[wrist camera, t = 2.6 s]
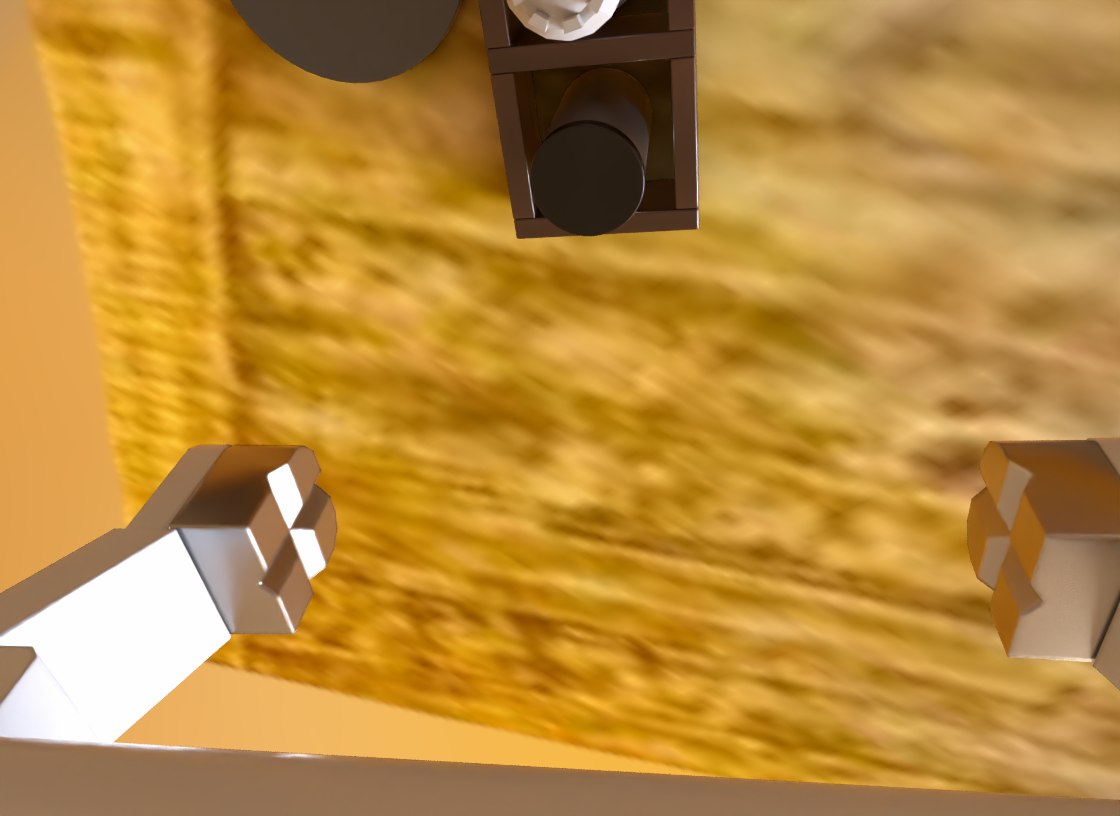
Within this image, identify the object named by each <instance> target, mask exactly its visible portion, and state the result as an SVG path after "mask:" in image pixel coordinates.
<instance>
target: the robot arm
mask: <svg viewBox="0 0 1120 816" xmlns="http://www.w3.org/2000/svg"><path fill="white" fill-rule="evenodd" d="M979 470H980V473H981V475H982V477H983V480H984V482H985V484H986V487H985V488H984V489H983V490H982V491H980V492H979V493H978V494H977V495H976V496H974V497H973V498H972V499H971V504H970V509H969V514H968V519H967V544H968V549H969V554H970V559H971V563H972V565H973V568H974V571H975V574H976V577H977V579H979V580H980V581H981V582H983V583H984V584H985V585H987V586H988V587H989V588H991V589H992V590H993V591H994V592H993V596H992V600H991V603H990V607H989V611H990V613H991V616H992V618H993V621H994V623H995V626H996V628H997V631H998V633H999V636H1000V639H1001V641H1002V644H1003V646H1004V649H1005V651H1006V654H1007V656H1008V657H1013V658H1031V659H1049V660H1066V661H1084V662H1094V663H1093V666H1094V667H1095V668H1096V669H1097V670H1098V671H1099V672H1100V673H1101V674H1103V675H1104V676H1105V677H1106V678H1107V679H1108V680H1109V681H1110V682H1111V683H1112V684H1114V685H1115V686H1116V687H1117V688H1118V689H1119V690H1120V438H1088V439H1087V440H1039V441H990V442H989V443H988V445H987V447H986V448H985V450H984V452H983V455H982V459H981V463H980V467H979ZM320 472H321V469H320V466H319V464H318V461H317V459H316V456H315V454H314V451H313V450H311V449H309V448H308V447H306V446H302V445H239V444H235V445H198V446H195V447H192V448H190V449H188V450H187V452H186V453H185V454H184V455H183V457H182V458H181V459H180V461H179V462H178V463H177V464H176V466H175V467H174V468H173V469H172V471H171V472H170V473H169V474H168V476H167V477H166V478H165V480H164V481H163V482H162V483H161V485H160V486H159V487H158V488H157V490H156V491H155V492H154V493H153V495H152V496H151V497H150V498H149V500H148V501H147V502H146V504H145V505H144V506H143V507H142V509H141V510H140V511H139V512H138V514H137V515H136V516H135V517H134V519H133V520H132V521H131V522H130V524H129V525H128V526H127V528H126V529H113V530H111V531H109V532H108V533H106V534H104V535H102V536H101V537H99V538H97V539H95V540H93V541H92V542H90V543H88V544H86V545H85V546H83V547H81V548H80V549H78V550H76V551H74V552H72V553H71V554H69V555H67V556H65V557H63V558H62V559H60V560H58V561H56V562H55V563H53V564H51V565H49V566H48V567H46V568H44V569H42V570H41V571H39V572H37V573H35V574H34V575H32V576H30V577H28V578H26V579H25V580H23V581H21V582H19V583H18V584H16V585H15V586H12V587H11V588H9V589H7V590H5V591H4V592H2V593H0V816H1120V800H1112V799H1095V798H1078V797H1060V796H1043V795H1025V794H1008V793H990V792H973V791H955V790H937V789H920V788H902V787H884V786H866V785H848V784H831V783H813V782H795V781H777V780H760V779H742V778H724V777H706V776H689V775H671V774H653V773H635V772H619V771H601V770H584V769H583V770H582V769H566V768H549V767H531V766H513V765H496V764H479V763H462V762H444V761H443V762H442V761H427V760H426V761H425V760H408V759H392V758H374V757H356V756H338V755H321V754H303V753H285V752H269V751H268V752H267V751H251V750H231V749H215V748H197V747H181V746H180V747H179V746H163V745H162V746H161V745H145V744H128V743H113V742H114V741H115V740H116V739H117V738H118V737H119V736H120V735H121V734H123V733H124V732H125V731H126V730H127V729H128V728H129V727H131V726H132V725H133V724H134V723H135V722H136V721H137V720H139V719H140V718H141V717H142V716H143V715H144V714H145V713H146V712H148V711H149V710H150V709H151V708H152V707H153V706H154V705H155V704H157V703H158V702H159V701H160V700H161V699H162V698H163V697H165V696H166V695H167V694H168V693H169V692H170V691H171V690H172V689H174V688H175V687H176V686H177V685H178V684H179V683H180V682H181V681H183V680H184V679H185V678H186V677H187V676H188V675H189V674H191V673H192V672H193V671H194V670H195V669H196V668H197V667H198V666H200V665H201V664H202V663H203V662H204V661H205V660H206V659H207V658H209V657H210V656H211V655H212V654H213V653H214V652H215V651H216V650H218V649H219V648H220V647H221V646H222V645H223V644H224V643H226V642H227V641H228V640H229V639H230V638H231V635H230V634H294V633H295V631H296V629H297V627H298V625H299V623H300V621H301V619H302V617H303V615H304V613H305V611H306V608H307V606H308V604H309V602H310V600H311V598H312V596H313V594H314V592H313V590H312V587H311V584H310V582H309V579H311V578H312V577H313V576H315V575H316V574H317V573H319V572H320V571H321V570H323V569H324V568H325V567H327V564H328V562H329V560H330V558H331V555H332V553H333V551H334V547H335V540H336V533H337V522H336V513H335V509H334V506H333V503H332V500H331V497H330V496H329V495H328V494H327V493H326V492H324V491H323V490H322V489H321V488H320V487H318V486H317V485H316V484H315V482H316V480H317V478H318V476H319V474H320Z"/></svg>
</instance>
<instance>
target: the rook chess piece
mask: <svg viewBox="0 0 1120 816" xmlns="http://www.w3.org/2000/svg"><path fill="white" fill-rule="evenodd" d="M625 1H627V0H507V3H508V6H509V8H510V9H511V10H512V11H513V13H514V14H515V15H516V16H517V17H518V19H519V20H520V21H521V22H522V23H523V25H524V26H525V27H526V28H528V29H530V30H532V31H534V32H535V33H537V34H539V35H541V36H543V37H544V38H546V39H554V40H565V41H572V40H575V39H578V38H581V37H584V36H587V35H590V34H593V33H594V32H595V31H596V30H597V29H599V28H600V27H601V26H602V25H603V24H604V23H605V22H606V21H607V20H608V19H609V18H611V17H612V15H613V13H614V11H615V9H616V8H619V7H620V6H621V5H622V4H623V3H624V2H625Z"/></svg>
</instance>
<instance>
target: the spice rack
mask: <svg viewBox="0 0 1120 816" xmlns="http://www.w3.org/2000/svg"><path fill="white" fill-rule="evenodd" d="M478 1H479V7H480V13H481V20H482V26H483V32H484V38H485V44H486V48H487V56H488V62H489V68H490V73H491V82H492V88H493V94H494V101H495V107H496V113H497V119H498V125H499V132H500V138H501V144H502V150H503V157H504V163H505V169H506V175H507V182H508V188H509V194H510V200H511V207H512V213H513V218H514V223H515V230H516V236H517V238H518V239H524V238H543V237H561V236H580V235H575V234H572V233H569V232H566V231H564V230H562V229H560V228H558V227H557V226H555V225H554V224H552V223H551V222H550V221H549V220H548V219H547V218H546V217H545V216H544V215H543V214H542V213H541V211H540V210H539V208H538V207H537V205H536V203H535V201H534V198H533V195H532V192H531V187H530V169H531V164H532V161H533V158H534V156H535V154H536V152H537V150H538V148H539V146H540V145H541V139H540V131H539V124H538V116H537V109H536V101H535V94H534V86H533V78H532V71H536V70H547V69H558V68H569V67H580V66H591V65H602V64H613V63H624V62H636V61H647V60H658V59H669V58H670V77H671V103H672V130H673V156H674V179H670V180H655V181H645V187H644V194H643V197H642V200H641V203H640V205H639V207H638V209H637V210H636V212H635V213H634V215H633V216H632V217H631V218H630V219H629V220H628V221H627V222H626V223H625V224H624V225H622V226H621V227H619V228H618V229H616V230H614V231H612V232H609V233H606V234H617V233H636V232H654V231H673V230H692V229H698V228H699V172H698V122H697V71H696V20H695V0H668V12H662V13H652V14H642V15H632V16H622V17H612V18H609V19H608V20H607V21H606V22H605V23H604V24H603V25H602V26H601V27H600V28H599V29H597V30H596V31H595V32H594V33H593V34H590V35H587V36H584V37H581V38H578V39H575V40H572V41H565V40H554V39H546V38H544V37H543V36H541V35H539V34H537V33H535V32H534V31H532V30H530V29H528V28H526V27H525V26H524V25H523V23H522V22H521V21H520V20H519V19H518V17H517V16H516V15H515V14H514V13H513V11H512V10H511V9H510V8H509V6H508V3H507V0H478Z"/></svg>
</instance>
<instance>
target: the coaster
mask: <svg viewBox="0 0 1120 816" xmlns="http://www.w3.org/2000/svg"><path fill="white" fill-rule="evenodd" d="M231 2H232V3H233V5H234V6H235V8H236V10H237V11H238V13H239V14H240V15H241V17H242V18H243V19H244V20H245V22H246V23H247V24H248V26H249V27H250V28H251V29H252V30H253V31H254V32H255V33H256V34H257V35H258V36H259V38H260V39H261V40H262V41H263V42H265V43H266V44H267V45H268V46H269V47H270V48H272V49H273V50H274V51H275V52H276V53H278V54H279V55H280V56H282V57H283V58H285V59H286V60H288V61H289V62H291V63H292V64H294V65H296V66H298V67H300V68H302V69H303V70H305V71H308V72H310V73H313V74H315V75H318V76H320V77H323V78H327V79H331V80H335V81H340V82H349V83H370V82H376V81H382V80H386V79H389V78H392V77H395V76H398V75H400V74H402V73H404V72H406V71H408V70H410V69H412V68H413V67H414V66H416V65H417V64H419V63H420V62H421V61H423V60H424V59H425V58H426V57H427V56H428V55H429V54H430V53H431V52H432V51H433V50H434V49H435V48H436V47H437V46H438V45H439V44H440V43H441V41H442V40H443V39H444V37H445V36H446V35H447V33H448V32H449V30H450V28H451V26H452V25H453V23H454V21H455V19H456V17H457V15H458V12H459V9H460V7H461V4H462V2H463V0H231Z"/></svg>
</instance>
